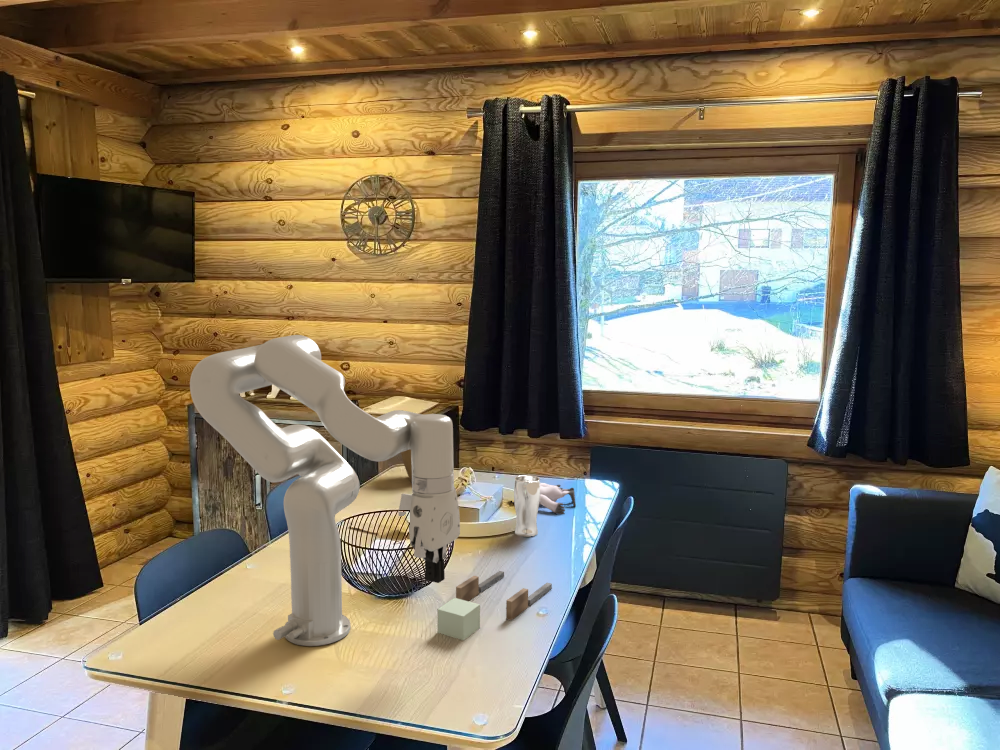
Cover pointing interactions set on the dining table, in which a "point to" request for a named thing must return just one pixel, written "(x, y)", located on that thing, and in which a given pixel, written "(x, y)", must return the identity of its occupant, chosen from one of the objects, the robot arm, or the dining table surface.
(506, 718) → the dining table surface
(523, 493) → the beer glass
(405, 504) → the light grey tapered block
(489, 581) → the rails
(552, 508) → the yeti figurine
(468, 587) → the walnut channel
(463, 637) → the sage block
